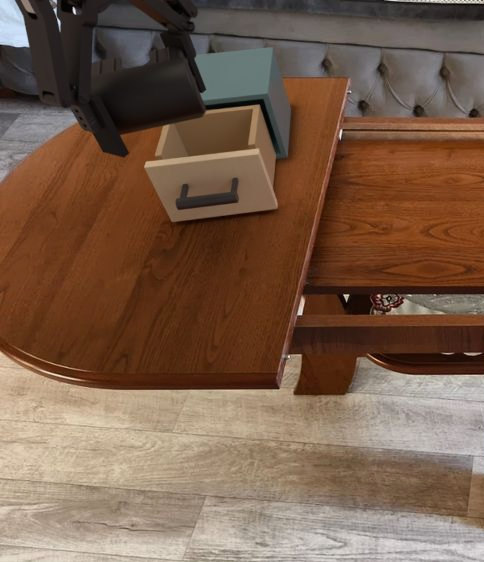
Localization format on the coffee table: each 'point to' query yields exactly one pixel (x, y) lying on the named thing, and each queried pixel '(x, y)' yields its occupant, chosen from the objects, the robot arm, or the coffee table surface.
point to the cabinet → (248, 88)
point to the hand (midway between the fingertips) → (157, 119)
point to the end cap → (148, 91)
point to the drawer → (215, 165)
